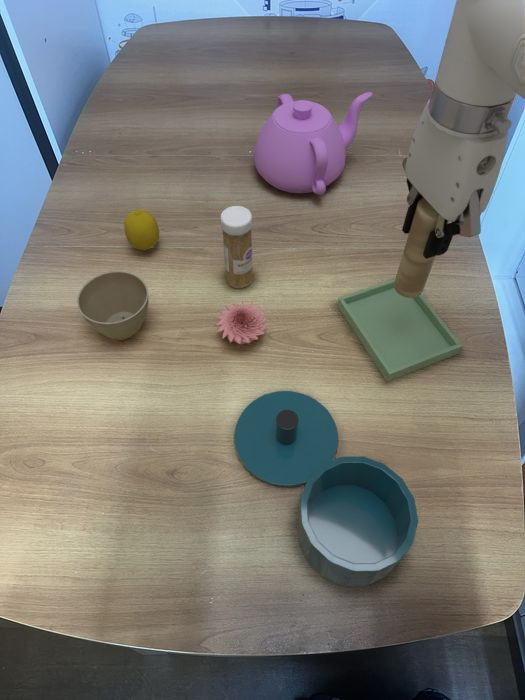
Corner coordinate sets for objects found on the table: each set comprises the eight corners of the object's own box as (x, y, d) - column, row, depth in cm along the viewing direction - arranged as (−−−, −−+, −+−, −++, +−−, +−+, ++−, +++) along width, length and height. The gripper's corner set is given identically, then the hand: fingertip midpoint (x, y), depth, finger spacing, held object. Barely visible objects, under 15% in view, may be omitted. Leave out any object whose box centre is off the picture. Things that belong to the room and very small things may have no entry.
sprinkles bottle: (247, 292, 86) (245, 229, 75) (221, 285, 87) (215, 221, 76) (257, 272, 89) (256, 208, 78) (231, 265, 90) (227, 201, 79)
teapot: (386, 191, 101) (401, 123, 89) (277, 219, 96) (279, 151, 85) (337, 127, 112) (345, 59, 101) (238, 149, 108) (235, 81, 97)
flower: (272, 354, 80) (273, 331, 75) (218, 361, 79) (215, 339, 74) (264, 313, 84) (264, 289, 79) (213, 319, 83) (210, 295, 79)
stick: (428, 292, 74) (459, 213, 62) (403, 301, 73) (429, 222, 61) (413, 272, 76) (439, 192, 64) (388, 281, 75) (411, 201, 64)
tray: (458, 353, 80) (462, 345, 78) (386, 381, 77) (389, 374, 75) (403, 282, 88) (406, 274, 86) (336, 306, 85) (338, 297, 83)
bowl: (139, 360, 79) (129, 331, 73) (78, 344, 81) (63, 314, 75) (166, 309, 85) (158, 278, 79) (108, 295, 86) (96, 264, 80)
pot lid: (355, 464, 70) (362, 445, 65) (258, 505, 67) (258, 488, 62) (309, 381, 77) (312, 359, 72) (220, 415, 74) (217, 394, 69)
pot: (423, 559, 63) (440, 541, 57) (326, 605, 60) (333, 592, 54) (369, 465, 70) (379, 440, 63) (280, 503, 67) (281, 481, 61)
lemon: (152, 263, 90) (144, 226, 84) (123, 254, 91) (113, 218, 85) (168, 241, 93) (160, 204, 87) (140, 233, 94) (130, 196, 88)
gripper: (559, 141, 49) (489, 278, 64) (452, 55, 58) (413, 193, 73) (491, 162, 47) (436, 298, 62) (391, 69, 56) (364, 208, 71)
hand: (424, 240), depth 67 cm, fingers closed on stick, 4 cm apart
